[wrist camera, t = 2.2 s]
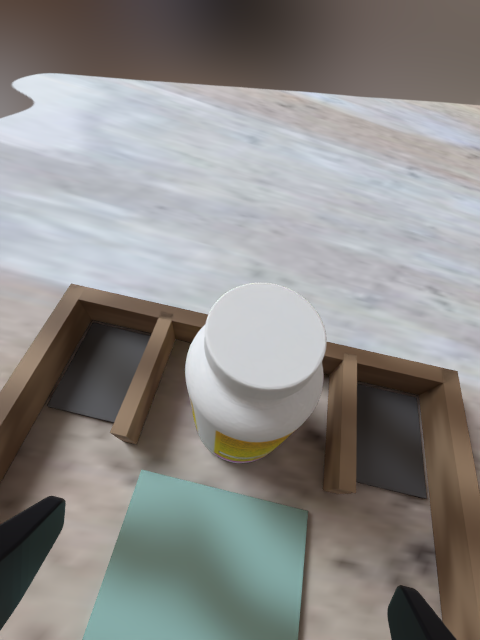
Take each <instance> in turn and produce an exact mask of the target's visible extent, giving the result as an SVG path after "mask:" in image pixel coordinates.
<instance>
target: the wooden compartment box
mask: <svg viewBox="0 0 480 640" xmlns="http://www.w3.org/2000/svg"><path fill="white" fill-rule="evenodd" d="M207 317H208V315H207V314H203V313H198V312H194V311H190V310H185V309H181V308H176V307H172V306H168V305H163V304H159V303H154V302H150V301H146V300H141V299H137V298H132V297H128V296H124V295H119V294H115V293H110V292H106V291H101V290H97V289H93V288H88V287H84V286H79V285H75V284H71V285H70V286H69V288H68V289H67V291H66V292H65V294H64V295H63V297H62V298H61V300H60V301H59V303H58V304H57V306H56V308H55V309H54V311H53V312H52V314H51V315H50V317H49V318H48V320H47V321H46V323H45V324H44V326H43V327H42V329H41V331H40V332H39V334H38V335H37V337H36V338H35V340H34V341H33V343H32V344H31V346H30V347H29V349H28V350H27V352H26V353H25V355H24V357H23V358H22V360H21V361H20V363H19V364H18V366H17V367H16V369H15V370H14V372H13V373H12V375H11V376H10V378H9V380H8V381H7V383H6V384H5V386H4V387H3V389H2V390H1V392H0V482H1V481H2V479H3V477H4V475H5V473H6V472H7V470H8V468H9V466H10V465H11V463H12V461H13V459H14V457H15V456H16V454H17V452H18V450H19V448H20V447H21V445H22V443H23V441H24V440H25V438H26V436H27V434H28V432H29V431H30V429H31V427H32V425H33V424H34V422H35V420H36V418H37V416H38V415H39V413H40V411H41V409H42V407H43V406H44V404H45V402H46V400H47V399H48V397H49V395H50V393H51V391H52V390H53V388H54V386H55V384H56V383H57V381H58V379H59V377H60V375H61V374H62V372H63V370H64V368H65V366H66V365H67V363H68V361H69V359H70V358H71V356H72V354H73V352H74V350H75V349H76V347H77V345H78V343H79V342H80V340H81V338H82V336H83V334H84V333H85V331H86V329H87V327H88V325H89V324H90V322H91V320H96V321H100V322H104V323H109V324H113V325H117V326H122V327H126V328H130V329H135V330H139V331H143V332H148V333H152V334H151V336H148V335H143V334H139V333H135V332H130V331H126V330H122V329H117V328H113V327H109V326H104V325H100V324H96V323H93V324H92V325H91V327H90V329H89V331H88V333H87V334H86V336H85V338H84V340H83V342H82V343H81V345H80V347H79V349H78V351H77V352H76V354H75V356H74V358H73V360H72V361H71V363H70V365H69V367H68V369H67V370H66V372H65V374H64V376H63V378H62V379H61V381H60V383H59V385H58V387H57V388H56V390H55V392H54V394H53V396H52V397H51V399H50V401H49V403H48V405H47V406H48V407H52V408H56V409H60V410H64V411H68V412H72V413H76V414H80V415H84V416H88V417H93V418H97V419H101V420H105V421H109V422H113V423H114V424H113V427H112V429H111V431H110V433H111V434H113V435H114V436H116V437H117V438H119V439H120V440H122V441H125V442H129V443H133V444H137V442H138V439H139V436H140V434H141V431H142V428H143V425H144V423H145V420H146V417H147V415H148V412H149V409H150V407H151V404H152V401H153V399H154V396H155V393H156V390H157V388H158V385H159V382H160V380H161V377H162V374H163V372H164V369H165V366H166V364H167V361H168V358H169V355H170V353H171V350H172V347H173V345H174V342H175V339H178V340H182V341H186V342H191V343H192V341H193V339H194V338H195V336H196V335H197V333H198V332H199V331H200V329H201V328H202V327H203V326H204V325H205V324H206V320H207ZM322 366H323V373H325V374H329V375H330V377H329V394H328V411H327V428H326V446H325V463H324V480H323V491H327V492H332V493H336V494H348V493H356V482H358V483H363V484H367V485H371V486H375V487H379V488H383V489H387V490H391V491H395V492H399V493H403V494H408V495H412V496H416V497H420V498H424V499H426V498H427V496H426V486H425V476H424V466H423V456H422V446H421V436H420V427H419V417H418V407H417V398H415V397H411V396H407V395H402V394H398V393H394V392H389V391H385V390H381V389H376V388H372V387H368V386H363V385H359V384H357V381H359V382H364V383H368V384H372V385H377V386H381V387H385V388H390V389H394V390H398V391H403V392H407V393H411V394H416V395H419V401H420V410H421V420H422V429H423V439H424V449H425V458H426V468H427V477H428V487H429V496H430V506H431V515H432V525H433V534H434V544H435V554H436V563H437V573H438V582H439V592H440V601H441V611H442V620H443V623H444V624H445V626H446V627H447V628H448V629H449V630H450V632H451V633H452V634H453V635H454V637H455V638H456V639H457V640H480V492H479V487H478V481H477V476H476V470H475V465H474V459H473V454H472V448H471V443H470V437H469V432H468V426H467V421H466V415H465V410H464V404H463V399H462V393H461V388H460V382H459V377H458V371H454V370H449V369H445V368H441V367H436V366H432V365H427V364H423V363H419V362H414V361H410V360H405V359H401V358H397V357H392V356H388V355H383V354H379V353H374V352H370V351H366V350H361V349H357V348H352V347H348V346H344V345H339V344H335V343H330V342H326V351H325V355H324V358H323V360H322ZM307 517H308V511H306V510H302V509H298V508H293V507H289V506H285V505H281V504H277V503H273V502H269V501H265V500H261V499H257V498H253V497H249V496H245V495H241V494H237V493H233V492H229V491H225V490H221V489H217V488H213V487H209V486H205V485H201V484H197V483H193V482H189V481H185V480H181V479H177V478H173V477H169V476H165V475H161V474H157V473H153V472H149V471H145V470H141V473H140V476H139V479H138V481H137V484H136V487H135V490H134V493H133V496H132V499H131V501H130V504H129V507H128V510H127V513H126V516H125V519H124V522H123V524H122V527H121V530H120V533H119V536H118V539H117V542H116V545H115V547H114V550H113V553H112V556H111V559H110V562H109V565H108V568H107V570H106V573H105V576H104V579H103V582H102V585H101V588H100V591H99V593H98V596H97V599H96V602H95V605H94V608H93V611H92V614H91V616H90V619H89V622H88V625H87V628H86V631H85V634H84V637H83V639H82V640H298V631H299V619H300V606H301V593H302V581H303V568H304V555H305V542H306V530H307Z"/></svg>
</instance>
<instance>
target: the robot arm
mask: <svg viewBox="0 0 480 640" xmlns="http://www.w3.org/2000/svg"><path fill="white" fill-rule="evenodd" d="M64 516H65V500H64V499H63V498H59V497H55V496H49V497H47V498H45V499H43V500H41V501H40V502H38V503H36V504H35V505H33V506H31V507H29V508H28V509H26V510H24V511H23V512H21V513H19V514H18V515H16V516H14V517H12V518H11V519H9V520H7V521H6V522H4V523H2V524H0V630H1V629H2V627H3V626H4V624H5V623H6V622H7V620H8V619H9V617H10V616H11V614H12V613H13V611H14V610H15V608H16V607H17V605H18V604H19V602H20V601H21V599H22V597H23V596H24V594H25V592H26V591H27V589H28V587H29V586H30V584H31V582H32V580H33V579H34V577H35V575H36V574H37V572H38V570H39V568H40V567H41V565H42V563H43V562H44V560H45V558H46V556H47V555H48V553H49V551H50V549H51V548H52V546H53V544H54V543H55V541H56V539H57V537H58V536H59V534H60V532H61V530H62V527H63V524H64ZM387 614H388V622H389V628H390V633H391V638H392V640H457V639H456V638H455V637H454V635H453V634H452V633H451V632H450V630H449V629H448V628H447V627H446V626H445V624H444V623H443V622H442V621H441V619H440V618H439V617H438V616H437V614H436V613H435V612H434V611H433V609H432V608H431V607H430V606H429V605H428V603H427V602H426V601H425V600H424V598H423V597H422V596H421V595H420V593H419V592H418V591H416V590H415V589H413V588H410V587H406V586H402V585H400V586H398V587H397V588H396V590H395V593H394V595H393V597H392V599H391V602H390V604H389V606H388V613H387Z"/></svg>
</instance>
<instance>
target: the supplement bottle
mask: <svg viewBox="0 0 480 640" xmlns="http://www.w3.org/2000/svg"><path fill="white" fill-rule="evenodd" d="M326 340H327V339H326V332H325V328H324V325H323V322H322V320H321V318H320V316H319V314H318V312H317V311H316V310H315V308H314V307H313V306H312V305H311V304H310V303H309V302H308V301H307V300H306V299H305V298H304V297H302V296H301V295H299V294H298V293H296V292H294V291H292V290H290V289H288V288H286V287H283V286H280V285H276V284H271V283H250V284H245V285H241V286H238V287H236V288H234V289H231V290H230V291H228V292H226V293H225V294H224V295H223V296H221V297H220V298H219V299H218V300H217V301H216V302H215V304H214V305H213V307H212V308H211V310H210V312H209V314H208V317H207V320H206V324H205V325H204V326H203V327H202V328H201V329H200V331H199V332H198V333H197V335H196V336H195V338H194V339H193V341H192V343H191V345H190V348H189V351H188V354H187V358H186V365H185V377H186V384H187V389H188V394H189V397H190V402H191V407H192V412H193V417H194V422H195V426H196V429H197V432H198V435H199V437H200V439H201V440H202V442H203V444H204V445H205V446H206V447H207V448H208V449H209V450H210V451H211V452H212V453H213V454H214V455H216V456H218V457H219V458H221V459H223V460H226V461H229V462H234V463H248V462H253V461H256V460H259V459H261V458H263V457H265V456H266V455H268V454H269V453H270V452H271V451H273V450H274V449H275V448H276V447H277V446H278V445H280V444H281V443H282V442H283V441H284V440H285V439H286V438H287V437H289V436H290V435H291V434H292V433H293V432H294V431H296V430H297V429H298V428H299V427H300V426H301V425H302V424H303V423H304V422H305V421H306V420H307V419H308V417H309V416H310V415H311V413H312V412H313V411H314V409H315V407H316V405H317V404H318V401H319V398H320V396H321V392H322V387H323V366H322V360H323V358H324V355H325V351H326Z"/></svg>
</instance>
